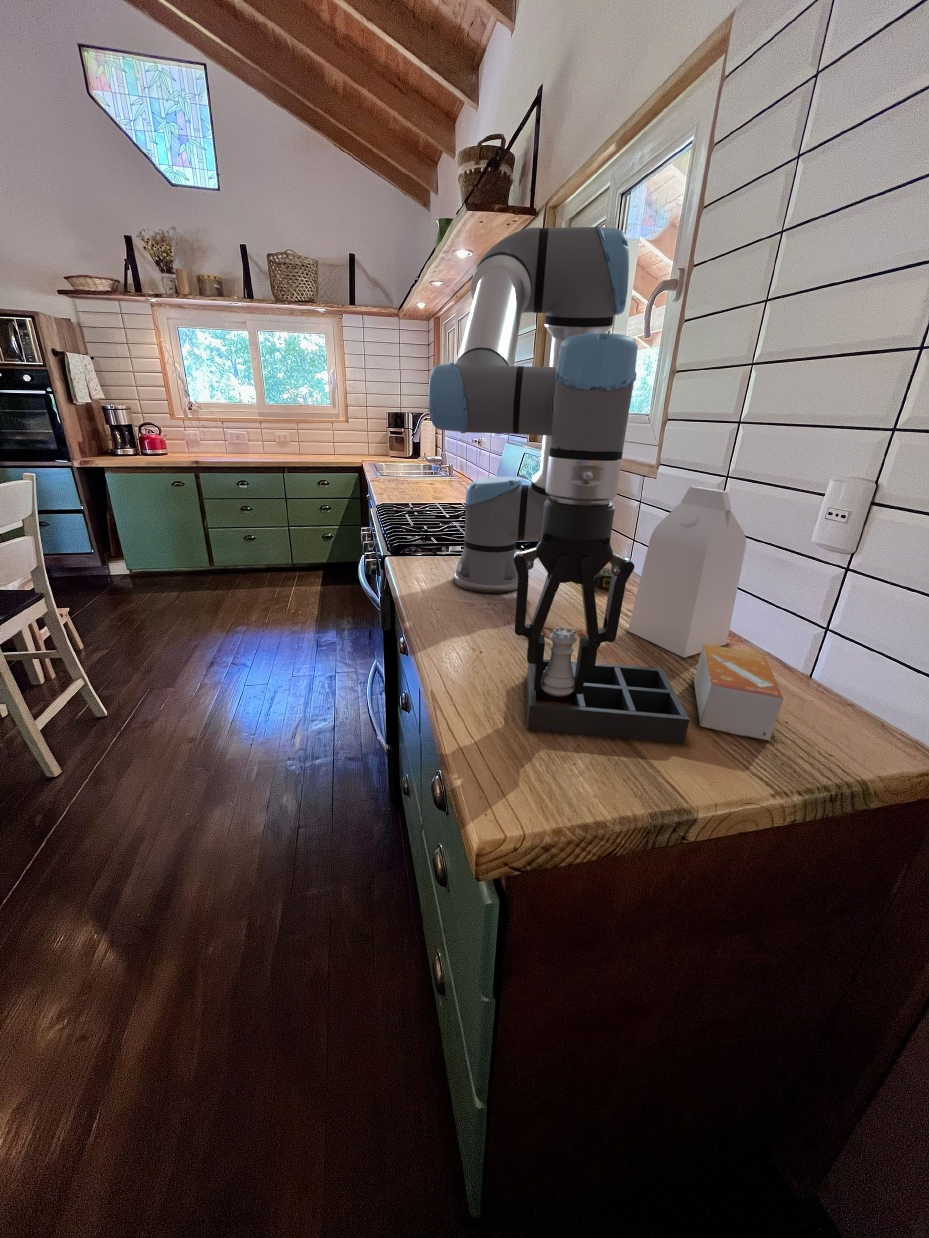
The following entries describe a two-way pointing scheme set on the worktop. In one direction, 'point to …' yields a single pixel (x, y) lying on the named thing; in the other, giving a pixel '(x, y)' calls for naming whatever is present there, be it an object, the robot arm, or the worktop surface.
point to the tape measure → (603, 579)
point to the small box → (736, 692)
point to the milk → (690, 575)
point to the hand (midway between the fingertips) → (557, 686)
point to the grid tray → (611, 705)
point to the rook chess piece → (560, 664)
